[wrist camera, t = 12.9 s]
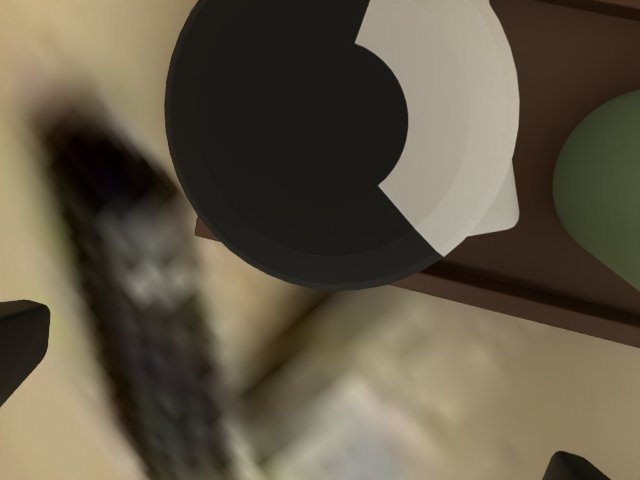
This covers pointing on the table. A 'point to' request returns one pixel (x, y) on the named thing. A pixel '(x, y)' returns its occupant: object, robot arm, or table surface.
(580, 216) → the sage bottle
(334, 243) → the medicine bottle
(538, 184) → the tray
